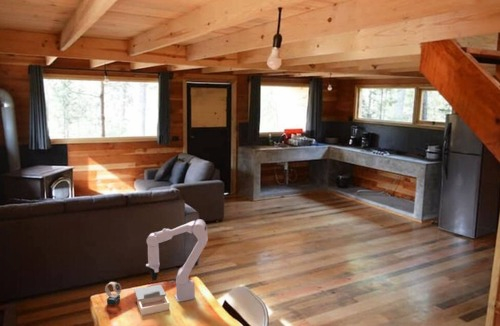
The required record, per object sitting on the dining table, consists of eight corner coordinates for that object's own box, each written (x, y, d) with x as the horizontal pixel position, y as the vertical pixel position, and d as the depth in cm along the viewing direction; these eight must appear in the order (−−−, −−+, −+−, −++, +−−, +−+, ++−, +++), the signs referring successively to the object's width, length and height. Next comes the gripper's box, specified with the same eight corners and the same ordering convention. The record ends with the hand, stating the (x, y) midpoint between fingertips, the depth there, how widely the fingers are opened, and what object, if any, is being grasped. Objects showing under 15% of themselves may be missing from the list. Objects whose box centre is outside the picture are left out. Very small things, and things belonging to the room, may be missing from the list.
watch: (118, 305, 214) (117, 285, 213) (104, 304, 216) (102, 284, 214) (123, 300, 220) (122, 281, 218) (109, 299, 221) (108, 279, 219)
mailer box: (164, 299, 221) (164, 292, 220) (169, 310, 210) (169, 302, 209) (137, 304, 215) (137, 297, 214) (141, 316, 204) (141, 308, 204)
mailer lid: (160, 285, 228) (160, 281, 228) (165, 295, 217) (165, 291, 216) (134, 290, 222) (134, 286, 222) (138, 300, 211) (137, 296, 211)
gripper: (143, 252, 223) (144, 275, 226) (148, 262, 210) (149, 286, 213) (156, 250, 226) (157, 273, 229) (162, 259, 213) (163, 284, 216)
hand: (154, 279), depth 221 cm, fingers closed
